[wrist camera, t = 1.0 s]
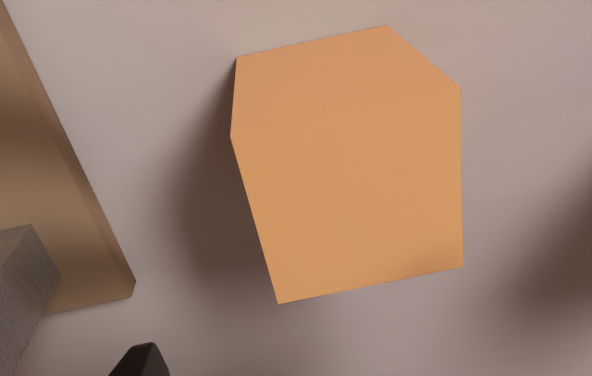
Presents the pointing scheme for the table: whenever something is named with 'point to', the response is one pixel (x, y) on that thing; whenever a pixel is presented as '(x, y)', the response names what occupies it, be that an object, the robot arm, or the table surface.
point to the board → (52, 187)
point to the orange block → (349, 162)
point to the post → (22, 290)
